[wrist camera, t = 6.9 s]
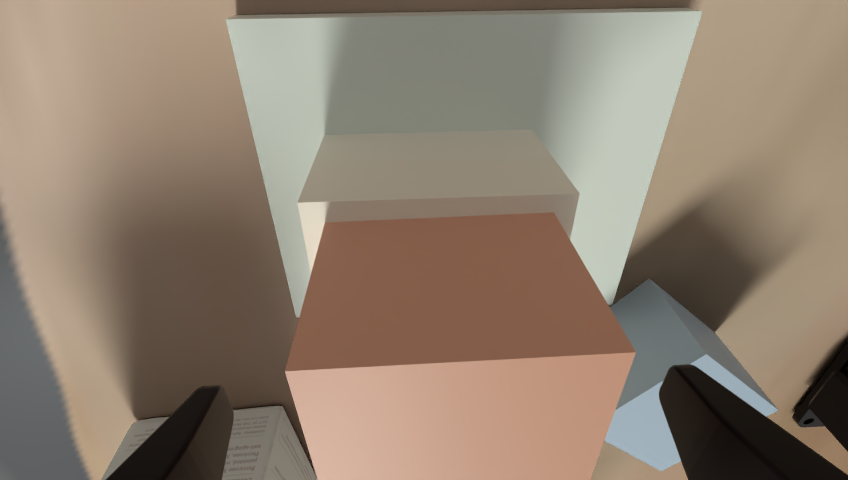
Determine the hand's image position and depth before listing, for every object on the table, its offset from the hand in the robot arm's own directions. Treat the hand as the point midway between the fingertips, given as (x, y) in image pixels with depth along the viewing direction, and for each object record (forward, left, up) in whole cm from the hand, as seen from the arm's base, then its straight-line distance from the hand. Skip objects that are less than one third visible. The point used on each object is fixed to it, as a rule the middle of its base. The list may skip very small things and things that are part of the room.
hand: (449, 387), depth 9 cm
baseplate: (-1, -1, -7) cm, 7 cm away
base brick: (0, 0, -6) cm, 6 cm away
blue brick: (-9, +7, -8) cm, 14 cm away
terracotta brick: (0, 0, -2) cm, 2 cm away
